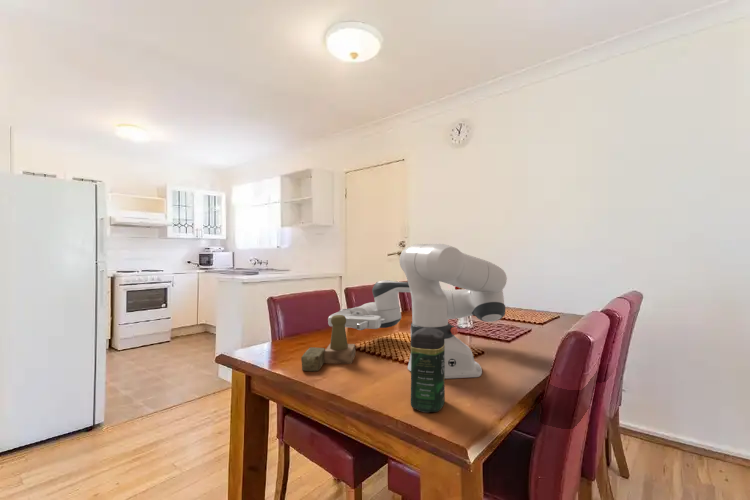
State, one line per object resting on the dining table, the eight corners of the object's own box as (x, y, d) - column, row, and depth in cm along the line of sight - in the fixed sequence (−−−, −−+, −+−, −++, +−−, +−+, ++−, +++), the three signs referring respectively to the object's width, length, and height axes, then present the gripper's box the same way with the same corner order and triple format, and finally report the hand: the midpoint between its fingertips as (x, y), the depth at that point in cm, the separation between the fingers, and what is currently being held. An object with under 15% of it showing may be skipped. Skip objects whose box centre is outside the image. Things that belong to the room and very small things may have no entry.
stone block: (300, 372, 115) (300, 356, 115) (309, 360, 126) (309, 346, 126) (319, 372, 115) (318, 356, 114) (326, 360, 126) (325, 346, 126)
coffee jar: (441, 416, 85) (440, 335, 84) (407, 411, 87) (406, 332, 87) (447, 399, 94) (447, 325, 93) (417, 395, 96) (416, 323, 96)
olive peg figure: (351, 346, 128) (350, 314, 128) (341, 351, 123) (340, 317, 122) (336, 344, 131) (336, 313, 131) (326, 348, 126) (325, 316, 125)
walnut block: (355, 355, 131) (355, 344, 131) (351, 363, 122) (351, 351, 122) (330, 354, 132) (330, 343, 132) (324, 363, 123) (324, 351, 123)
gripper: (386, 327, 142) (374, 336, 129) (338, 324, 149) (321, 332, 136) (386, 311, 142) (373, 318, 129) (337, 308, 149) (321, 315, 136)
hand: (346, 325), depth 132 cm, fingers open, 8 cm apart
